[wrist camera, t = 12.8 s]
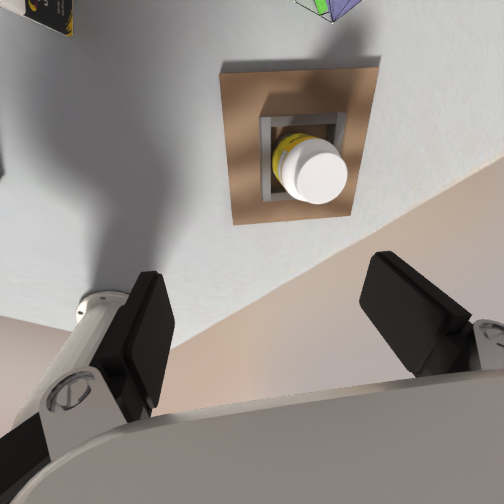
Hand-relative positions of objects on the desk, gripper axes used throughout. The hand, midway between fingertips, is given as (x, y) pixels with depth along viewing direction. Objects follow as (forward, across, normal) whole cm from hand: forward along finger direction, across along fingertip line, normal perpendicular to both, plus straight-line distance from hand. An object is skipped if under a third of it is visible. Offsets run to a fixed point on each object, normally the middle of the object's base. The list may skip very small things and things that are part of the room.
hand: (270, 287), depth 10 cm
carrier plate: (+25, -8, -2) cm, 26 cm away
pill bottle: (+24, -7, -2) cm, 25 cm away
